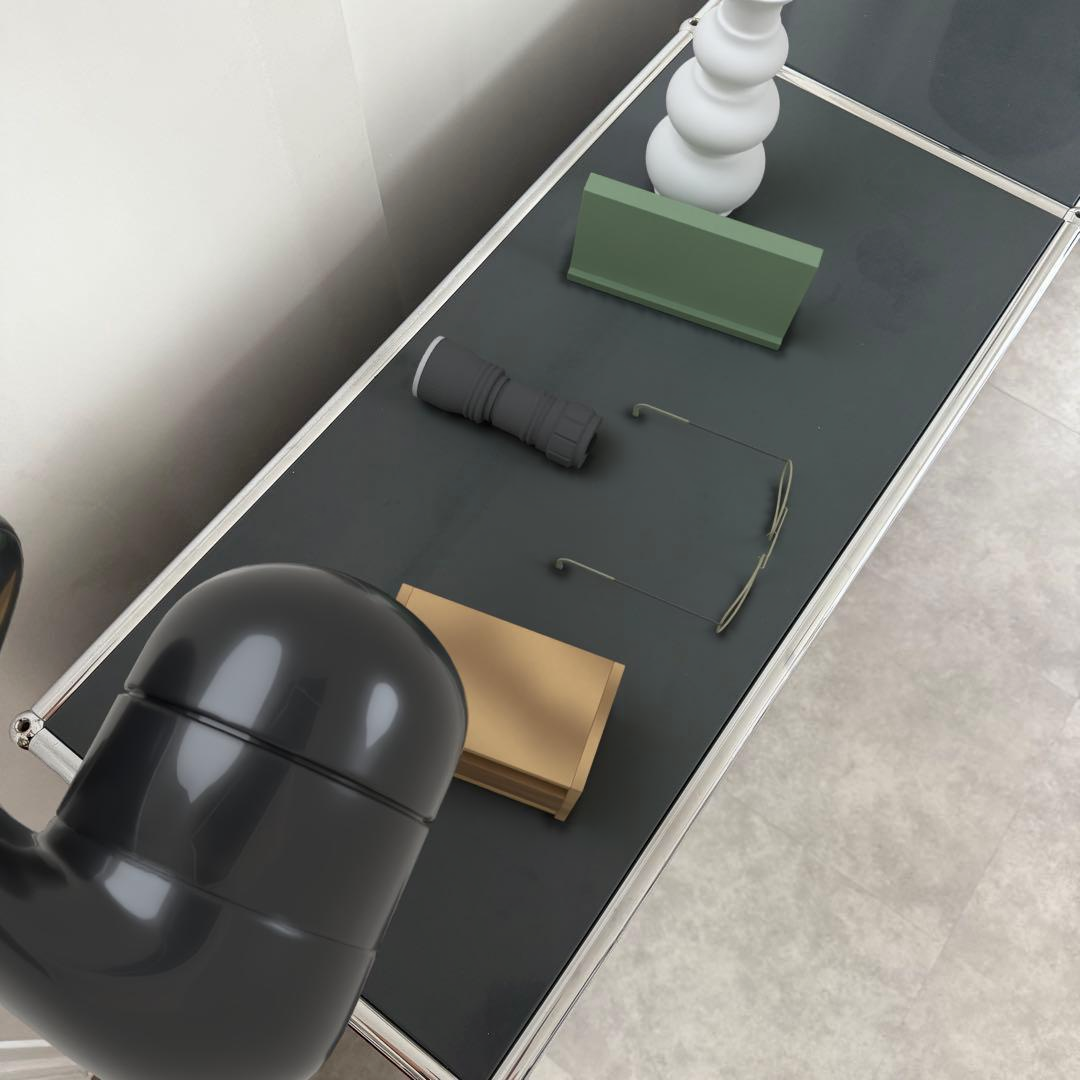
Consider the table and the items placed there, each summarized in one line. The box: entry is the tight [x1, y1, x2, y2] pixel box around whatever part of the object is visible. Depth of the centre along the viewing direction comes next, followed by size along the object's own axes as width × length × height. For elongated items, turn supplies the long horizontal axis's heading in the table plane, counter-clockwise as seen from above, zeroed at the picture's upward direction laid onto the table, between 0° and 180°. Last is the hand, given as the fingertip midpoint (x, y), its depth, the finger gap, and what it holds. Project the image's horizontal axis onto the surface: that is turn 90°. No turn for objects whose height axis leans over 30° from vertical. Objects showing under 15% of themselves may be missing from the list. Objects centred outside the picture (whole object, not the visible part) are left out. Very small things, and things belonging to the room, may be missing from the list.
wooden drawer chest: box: [395, 583, 626, 822], centre depth 77 cm, size 9×16×11 cm, turn 70°
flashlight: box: [411, 335, 604, 469], centre depth 90 cm, size 15×5×5 cm, turn 64°
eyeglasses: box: [555, 403, 793, 634], centre depth 88 cm, size 16×15×5 cm
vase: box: [645, 0, 794, 217], centre depth 93 cm, size 11×11×25 cm
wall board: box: [566, 172, 824, 352], centre depth 95 cm, size 5×20×11 cm, turn 71°
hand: (324, 842), depth 55 cm, fingers closed
